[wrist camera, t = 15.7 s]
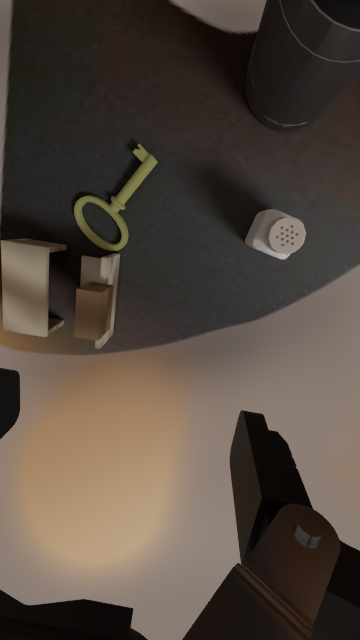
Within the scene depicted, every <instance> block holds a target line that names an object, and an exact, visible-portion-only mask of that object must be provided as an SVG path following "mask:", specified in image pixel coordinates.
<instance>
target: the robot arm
mask: <svg viewBox="0 0 360 640" xmlns="http://www.w3.org/2000/svg"><path fill="white" fill-rule="evenodd" d="M359 79H360V0H267V1H266V5H265V8H264V12H263V15H262V19H261V22H260V26H259V29H258V33H257V36H256V40H255V43H254V46H253V50H252V53H251V57H250V60H249V64H248V68H247V73H246V78H245V91H246V97H247V101H248V104H249V106H250V109H251V111H252V112H253V114H254V115H255V117H256V118H257V119H258V120H259V121H260V122H261V123H262V124H263V125H265V126H267V127H268V128H270V129H273V130H277V131H284V132H290V131H295V130H299V129H301V128H303V127H306V126H308V125H309V124H311V123H312V122H313V121H315V120H316V119H317V118H318V117H319V116H321V115H322V114H323V113H324V112H325V111H326V110H327V109H328V108H329V107H330V106H331V105H332V104H333V103H334V102H336V101H337V100H338V99H339V98H340V97H341V96H342V95H343V94H344V93H345V92H346V91H347V90H348V89H349V88H350V87H351V86H352V85H353V84H355V83H356V82H357V81H358V80H359ZM19 412H20V377H19V373H18V372H17V371H15V370H9V369H3V368H0V439H1V438H2V437H3V436H4V435H5V434H6V433H7V432H8V431H9V430H10V428H12V426H13V425H14V424H15V422H16V421H17V418H18V416H19ZM230 469H231V479H232V487H233V497H234V505H235V513H236V522H237V532H238V541H239V549H240V558H241V565H242V566H241V565H240V564H239V563H238V564H236V565H235V566H234V567H233V568H232V570H231V571H230V573H229V574H228V575H227V577H226V578H225V580H224V581H223V582H222V584H221V585H220V587H219V588H218V590H217V591H216V592H215V594H214V595H213V597H212V598H211V599H210V601H209V602H208V604H207V605H206V607H205V608H204V610H203V611H202V612H201V614H200V615H199V617H198V618H197V619H196V621H195V622H194V624H193V625H192V627H191V628H190V629H189V631H188V632H187V634H186V635H185V637H184V638H183V639H182V640H360V551H359V550H357V549H355V548H353V547H350V546H349V545H346V544H345V543H343V542H342V541H340V540H339V538H338V535H337V533H336V531H335V530H334V528H333V527H332V525H331V524H330V523H329V522H328V521H327V520H326V519H325V518H324V517H323V516H322V515H321V514H319V513H318V512H317V511H315V510H313V508H312V505H311V503H310V500H309V498H308V495H307V492H306V490H305V487H304V485H303V482H302V480H301V477H300V474H299V472H298V469H296V464H295V462H294V459H293V458H292V454H291V451H290V449H289V446H288V444H287V442H286V441H285V440H284V439H283V438H282V437H281V436H280V435H279V433H278V432H277V431H270V430H268V427H267V424H266V421H265V418H264V415H263V414H259V413H254V412H248V411H241V412H240V414H239V418H238V422H237V426H236V430H235V434H234V438H233V442H232V446H231V452H230ZM132 614H133V608H128V607H123V606H117V605H112V604H107V603H102V602H97V601H91V600H86V599H82V600H73V601H65V602H57V603H48V604H40V605H25V604H23V603H20V602H19V601H18V600H16V599H14V598H13V597H11V596H10V595H8V594H6V593H5V592H3V591H1V590H0V640H147V639H146V638H145V637H144V636H143V635H141V634H140V633H138V632H137V631H135V630H134V629H132V628H130V627H131V620H132Z"/></svg>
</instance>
